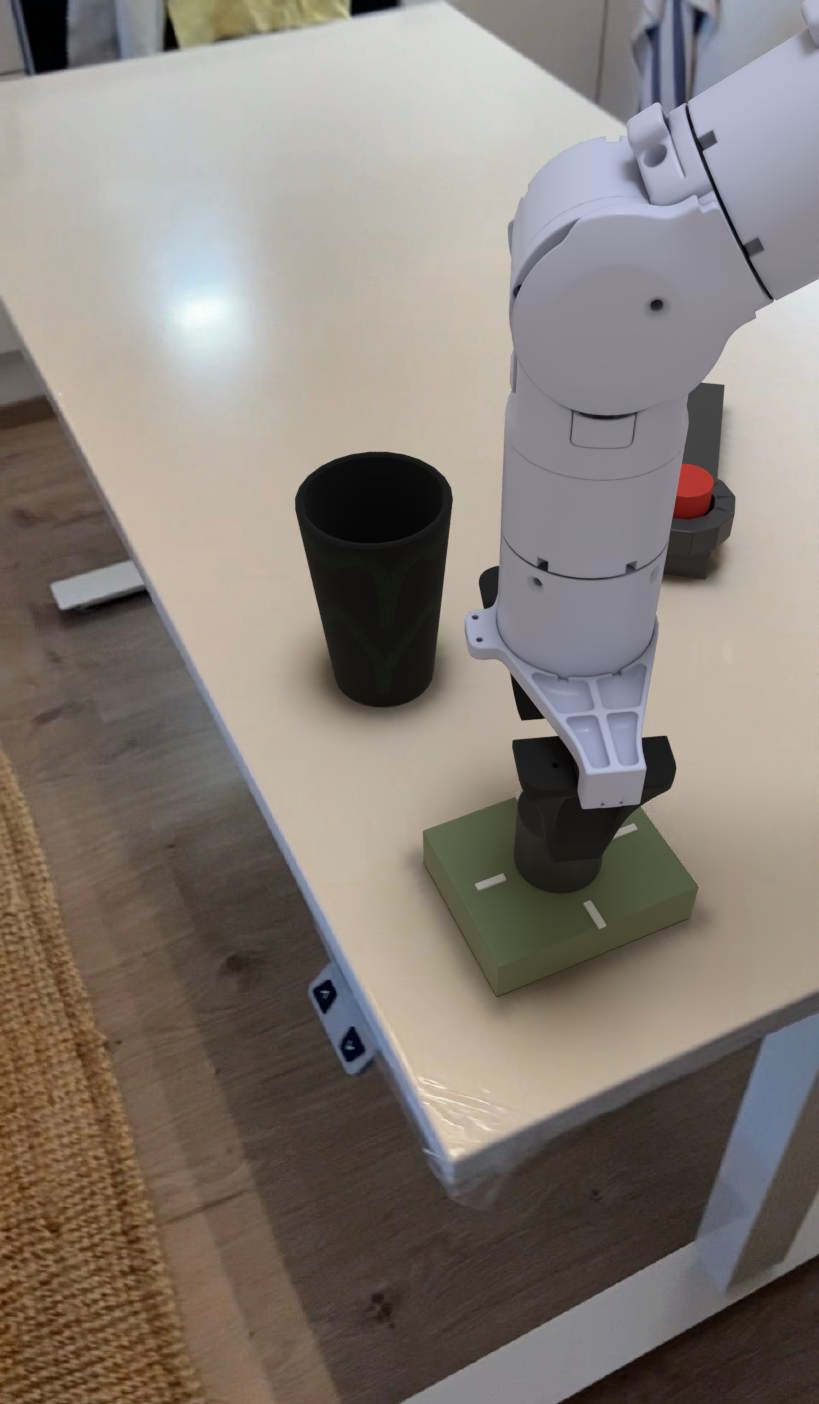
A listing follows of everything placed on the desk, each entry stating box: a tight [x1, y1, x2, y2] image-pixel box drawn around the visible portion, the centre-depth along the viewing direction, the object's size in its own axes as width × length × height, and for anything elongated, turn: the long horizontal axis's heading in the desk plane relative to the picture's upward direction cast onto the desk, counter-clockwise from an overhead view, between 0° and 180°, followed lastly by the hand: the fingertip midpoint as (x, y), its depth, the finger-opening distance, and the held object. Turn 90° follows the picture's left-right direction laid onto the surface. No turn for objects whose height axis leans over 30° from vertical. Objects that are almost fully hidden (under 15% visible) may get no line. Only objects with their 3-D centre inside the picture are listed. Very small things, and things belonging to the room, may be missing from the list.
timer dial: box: [514, 790, 603, 893], centre depth 53 cm, size 4×4×4 cm
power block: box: [663, 381, 737, 579], centre depth 76 cm, size 19×11×4 cm, turn 167°
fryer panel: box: [422, 790, 699, 997], centre depth 55 cm, size 10×8×3 cm
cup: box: [294, 451, 454, 708], centre depth 62 cm, size 8×8×12 cm
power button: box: [672, 464, 714, 520], centre depth 70 cm, size 3×3×2 cm
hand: (557, 779), depth 50 cm, fingers open, 7 cm apart
